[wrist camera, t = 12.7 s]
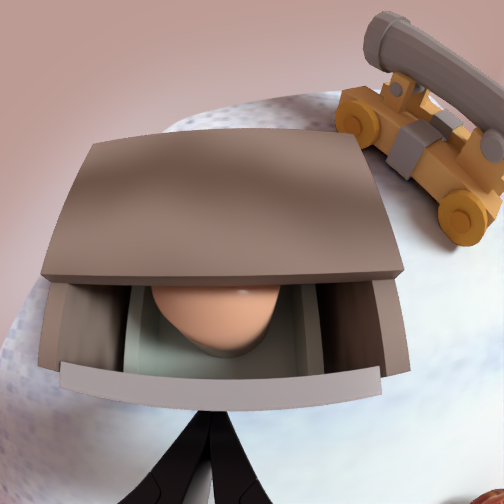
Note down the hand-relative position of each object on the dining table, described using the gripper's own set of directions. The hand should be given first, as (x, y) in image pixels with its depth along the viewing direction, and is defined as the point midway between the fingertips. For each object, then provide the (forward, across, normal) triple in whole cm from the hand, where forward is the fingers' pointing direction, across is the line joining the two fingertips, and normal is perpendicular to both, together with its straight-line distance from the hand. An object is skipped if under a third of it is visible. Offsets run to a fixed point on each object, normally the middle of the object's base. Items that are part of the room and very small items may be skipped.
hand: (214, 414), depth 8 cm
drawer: (+8, 0, +1) cm, 8 cm away
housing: (+9, 0, 0) cm, 9 cm away
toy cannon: (+20, -23, -10) cm, 32 cm away
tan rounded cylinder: (+8, 0, 0) cm, 8 cm away
